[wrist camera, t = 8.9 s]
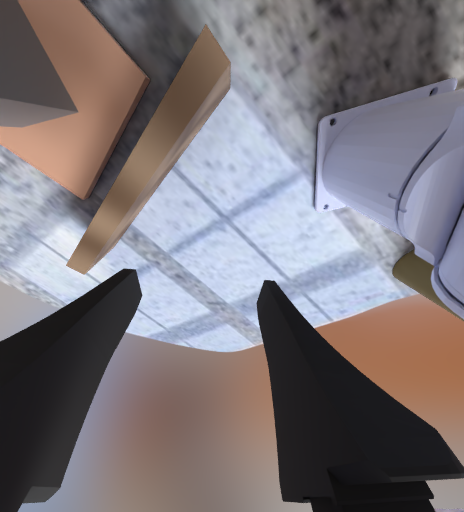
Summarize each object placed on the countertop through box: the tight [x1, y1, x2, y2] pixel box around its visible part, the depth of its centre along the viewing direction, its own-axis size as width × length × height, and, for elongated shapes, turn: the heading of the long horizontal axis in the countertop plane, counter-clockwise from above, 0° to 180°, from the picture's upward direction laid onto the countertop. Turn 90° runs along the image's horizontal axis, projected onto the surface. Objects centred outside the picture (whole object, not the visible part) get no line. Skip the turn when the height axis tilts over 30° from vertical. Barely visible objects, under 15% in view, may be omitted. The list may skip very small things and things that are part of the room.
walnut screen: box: [66, 25, 230, 275], centre depth 14 cm, size 20×2×5 cm, turn 134°
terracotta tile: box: [0, 0, 150, 200], centre depth 11 cm, size 12×12×1 cm
